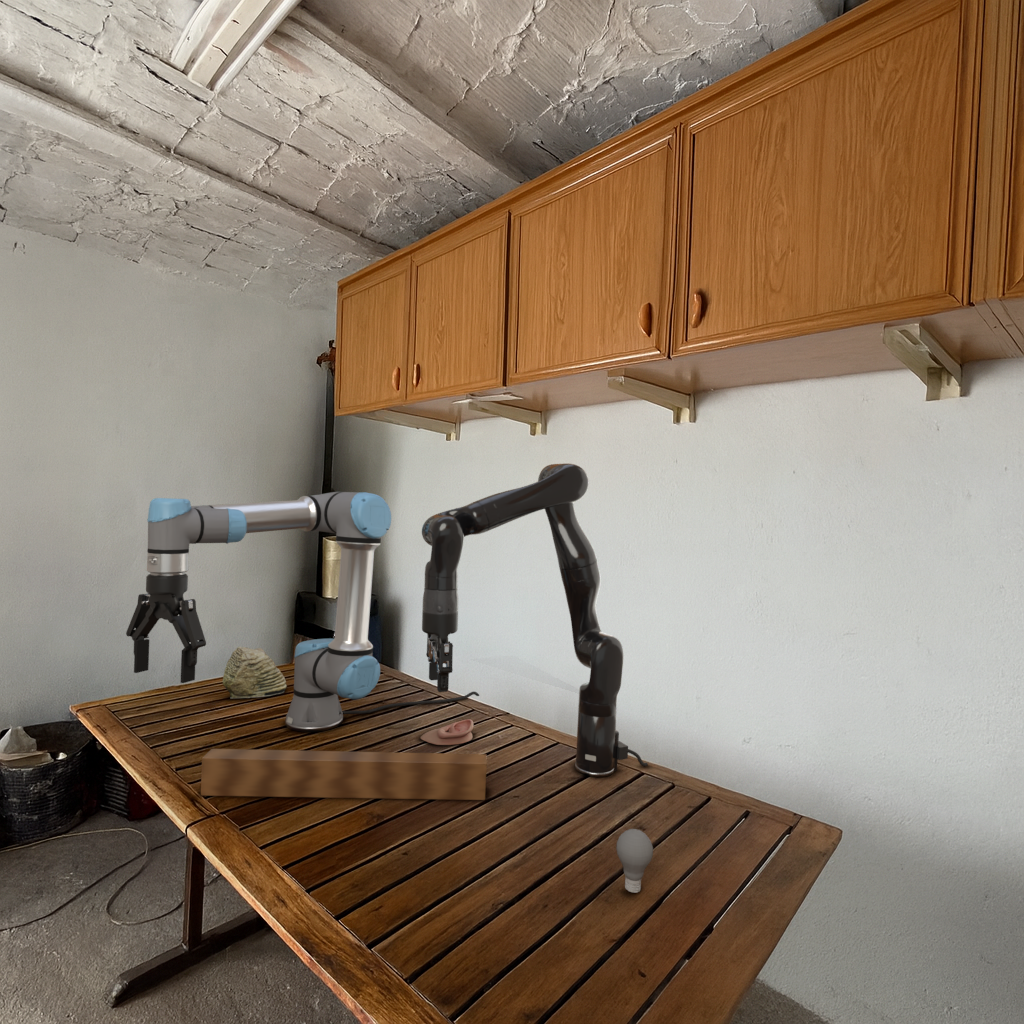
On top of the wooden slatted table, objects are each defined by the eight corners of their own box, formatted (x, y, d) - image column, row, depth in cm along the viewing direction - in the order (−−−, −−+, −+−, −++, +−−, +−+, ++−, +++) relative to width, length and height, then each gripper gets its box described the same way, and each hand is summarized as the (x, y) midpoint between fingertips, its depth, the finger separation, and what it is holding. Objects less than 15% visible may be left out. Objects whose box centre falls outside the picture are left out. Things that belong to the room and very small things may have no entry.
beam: (200, 795, 132) (201, 758, 132) (210, 784, 137) (211, 748, 137) (485, 800, 135) (486, 763, 135) (484, 789, 140) (486, 754, 140)
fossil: (218, 695, 195) (220, 647, 195) (278, 685, 208) (279, 640, 207) (228, 703, 189) (230, 653, 188) (289, 692, 201) (290, 645, 201)
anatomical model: (416, 727, 165) (431, 713, 176) (416, 742, 165) (430, 727, 176) (465, 733, 162) (477, 718, 174) (465, 748, 162) (476, 732, 174)
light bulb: (610, 879, 108) (613, 822, 108) (644, 879, 109) (647, 822, 109) (619, 902, 102) (622, 840, 102) (655, 901, 103) (658, 840, 103)
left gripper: (108, 569, 131) (105, 671, 132) (195, 580, 121) (192, 690, 122) (142, 566, 138) (139, 663, 139) (227, 576, 128) (223, 680, 129)
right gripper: (466, 615, 128) (463, 694, 129) (449, 603, 142) (447, 675, 142) (429, 616, 126) (427, 697, 126) (416, 604, 139) (414, 677, 140)
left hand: (163, 676), depth 130 cm, fingers open, 13 cm apart
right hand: (438, 685), depth 134 cm, fingers open, 8 cm apart
